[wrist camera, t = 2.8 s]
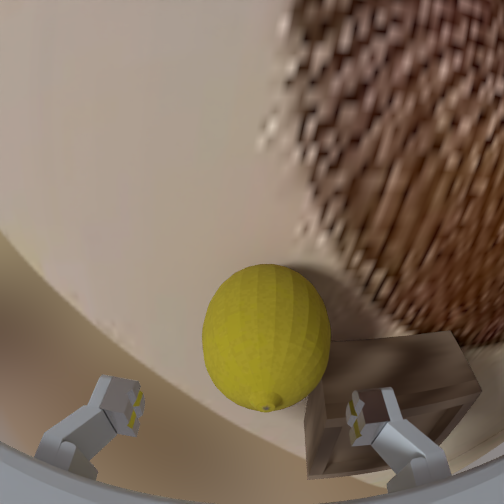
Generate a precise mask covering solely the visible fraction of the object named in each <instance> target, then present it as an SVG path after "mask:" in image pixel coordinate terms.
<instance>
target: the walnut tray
mask: <svg viewBox="0 0 504 504" xmlns="http://www.w3.org/2000/svg"><path fill="white" fill-rule="evenodd" d="M384 387H391V388H392V389H393V391H394V394H395V397H396V400H397V403H398V406H399V409H400V412H401V415H402V418H403V419H407V420H408V421H409V422H410V423H411V424H413V425H414V426H415V427H416V428H417V429H419V430H420V431H421V432H422V433H423V434H425V435H426V436H427V437H428V438H429V439H431V440H432V441H433V442H434V443H435V444H437V445H438V446H439V445H440V444H441V443H442V442H443V441H444V440H445V439H446V437H447V436H448V435H449V434H450V433H451V432H452V430H453V429H454V428H455V427H456V425H457V424H458V423H459V422H460V420H461V419H462V418H463V417H464V415H465V414H466V413H467V411H468V410H469V409H470V407H471V406H472V405H473V403H474V402H475V401H476V399H477V398H478V396H479V395H480V394H481V392H482V390H481V387H480V385H479V383H478V381H477V379H476V377H475V375H474V373H473V371H472V370H471V368H470V366H469V364H468V362H467V360H466V358H465V356H464V354H463V353H462V351H461V349H460V347H459V345H458V343H457V342H456V340H455V338H454V336H453V335H452V333H451V331H450V330H449V331H442V332H434V333H426V334H418V335H409V336H399V337H389V338H378V339H365V340H351V341H334V342H330V352H329V359H328V364H327V367H326V370H325V372H324V374H323V376H322V378H321V380H320V382H319V383H318V385H317V386H316V387H315V388H314V389H313V390H312V391H311V392H310V393H309V395H308V401H307V407H306V413H305V418H304V429H305V444H306V461H307V479H308V480H310V479H324V478H334V477H343V476H351V475H358V474H365V473H371V472H377V471H382V470H387V469H391V467H390V466H389V465H388V464H387V463H386V462H385V461H384V460H383V458H382V457H381V456H380V455H379V454H378V453H377V452H376V451H375V449H374V448H373V447H372V446H371V445H362V446H352V447H351V441H350V436H349V432H350V430H351V427H350V426H349V425H348V424H347V420H346V408H347V405H348V402H349V401H351V400H352V393H353V391H355V390H361V389H371V388H384Z"/></svg>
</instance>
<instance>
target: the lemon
mask: <svg viewBox="0 0 504 504" xmlns="http://www.w3.org/2000/svg"><path fill="white" fill-rule="evenodd" d="M330 342H331V328H330V322H329V318H328V315H327V311H326V307H325V305H324V302H323V300H322V298H321V297H320V295H319V294H318V292H317V291H316V289H315V288H314V286H313V285H312V284H311V283H310V282H309V281H308V280H307V279H305V278H304V277H303V276H302V275H301V274H299V273H298V272H296V271H294V270H292V269H289V268H287V267H284V266H279V265H275V264H259V265H255V266H250V267H247V268H245V269H243V270H240V271H238V272H236V273H235V274H233V275H232V276H231V277H230V278H228V279H227V280H226V281H225V282H224V283H223V284H222V285H221V286H220V287H219V289H218V290H217V292H216V293H215V295H214V296H213V298H212V300H211V301H210V304H209V306H208V309H207V313H206V316H205V320H204V324H203V330H202V343H203V353H204V361H205V365H206V368H207V371H208V373H209V375H210V377H211V379H212V381H213V383H214V384H215V386H216V387H217V388H218V389H219V390H220V391H221V392H222V393H223V394H224V395H225V396H226V397H227V398H228V399H230V400H231V401H233V402H235V403H236V404H238V405H240V406H243V407H245V408H248V409H252V410H256V411H260V412H271V411H275V410H280V409H284V408H287V407H289V406H292V405H294V404H296V403H297V402H299V401H300V400H302V399H304V398H305V397H306V396H307V395H308V394H309V393H310V392H311V391H312V390H313V389H314V388H315V387H316V386H317V385H318V383H319V382H320V380H321V378H322V376H323V374H324V372H325V370H326V367H327V364H328V359H329V352H330Z"/></svg>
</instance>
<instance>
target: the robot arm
mask: <svg viewBox="0 0 504 504" xmlns="http://www.w3.org/2000/svg"><path fill="white" fill-rule="evenodd" d="M140 387H141V386H140V383H139V381H135V380H129V379H123V378H118V377H114V376H108V375H102V376H101V377H100V378H99V380H98V382H97V384H96V387H95V389H94V391H93V394H92V396H91V399H90V401H89V403H88V405H87V406H86V405H84V406H82V407H81V408H80V409H78V410H77V411H75V412H74V413H72V414H71V415H69V416H68V417H67V418H65V419H64V420H62V421H61V422H59V423H58V424H56V425H55V426H53V427H52V428H51V429H49V430H48V431H46V432H45V433H44V435H43V437H42V440H41V442H40V444H39V447H38V449H37V451H36V454H35V456H34V457H32V456H29V455H27V454H25V453H23V452H21V451H18V450H17V449H15V448H13V447H11V446H9V445H6V444H5V443H3V442H1V441H0V504H213V503H203V502H195V501H187V500H180V499H173V498H167V497H161V496H156V495H151V494H146V493H142V492H137V491H133V490H128V489H124V488H120V487H116V486H113V485H109V484H106V483H102V482H99V481H96V477H97V474H98V471H97V469H96V468H95V467H94V466H93V465H92V464H91V463H90V459H92V458H93V457H94V456H95V455H96V454H97V453H98V452H99V451H100V450H101V449H102V448H103V447H104V446H106V445H107V444H108V443H109V442H110V441H111V440H112V439H113V438H114V437H115V436H116V435H117V434H122V435H128V436H133V437H137V433H138V429H139V426H140V422H139V420H138V418H139V417H141V416H142V415H143V412H144V407H145V398H144V394H143V393H142V392H141V391H140ZM346 420H347V424H348V425H349V426H350V427H351V430H350V432H349V436H350V441H351V447H352V446H362V445H371V446H372V447H373V448H374V449H375V451H376V452H377V453H378V454H379V455H380V456H381V457H382V458H383V460H384V461H385V462H386V463H387V464H388V465H389V466H390V467H391V469H392V470H393V471H394V472H395V473H396V475H395V476H394V477H393V478H392V479H391V480H390V481H389V482H388V483H387V489H388V494H383V495H378V496H372V497H367V498H361V499H355V500H347V501H340V502H331V503H321V504H504V455H502V456H500V457H498V458H496V459H494V460H491V461H489V462H487V463H484V464H482V465H480V466H477V467H474V468H472V469H469V470H467V471H464V472H461V473H458V474H456V475H453V476H452V475H451V472H450V468H449V465H448V462H447V459H446V456H445V453H444V450H443V449H441V448H440V447H439V446H438V445H437V444H435V443H434V442H433V441H432V440H431V439H429V438H428V437H427V436H426V435H425V434H423V433H422V432H421V431H420V430H419V429H417V428H416V427H415V426H414V425H413V424H411V423H410V422H409V421H408V420H407V419H403V418H402V415H401V412H400V409H399V406H398V403H397V400H396V397H395V394H394V391H393V389H392V388H391V387H384V388H371V389H361V390H355V391H353V393H352V400H351V401H349V402H348V405H347V408H346ZM116 433H117V434H116Z"/></svg>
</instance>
